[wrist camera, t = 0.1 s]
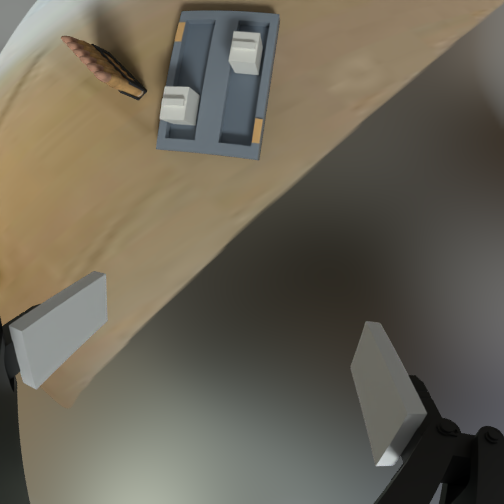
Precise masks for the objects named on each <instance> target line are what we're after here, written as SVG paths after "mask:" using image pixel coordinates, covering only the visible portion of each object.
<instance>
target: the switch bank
mask: <svg viewBox="0 0 504 504" xmlns="http://www.w3.org/2000/svg"><path fill="white" fill-rule="evenodd" d="M279 24H280V18H279V14H271V13H259V12H244V11H182V13H181V17H180V21H179V24H178V28H177V32H176V37H175V42H174V47H173V51H172V56H171V61H170V66H169V71H168V76H167V82H166V86H170V87H190V88H191V89H192V90H194V91H195V92H196V93H197V94H199V95H200V101H199V107H198V114H197V120H196V126H195V125H181V124H172V123H169V122H167V121H164V120H161V119H160V124H159V131H158V138H157V146H156V149H160V150H171V151H182V152H193V153H203V154H212V155H221V156H230V157H238V158H245V159H253V160H259V159H260V152H261V145H262V138H263V131H264V124H265V118H266V111H267V104H268V97H269V91H270V84H271V77H272V71H273V64H274V57H275V51H276V44H277V37H278V31H279ZM234 31H238V32H252V33H260V35H261V40H262V45H263V51H262V57H261V64H260V70H259V75H251V74H241V73H235V72H234V70H233V68H232V66H231V65H230V63H229V55H230V49H231V44H232V39H233V33H234Z"/></svg>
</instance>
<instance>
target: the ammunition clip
mask: <svg viewBox="0 0 504 504" xmlns="http://www.w3.org/2000/svg"><path fill="white" fill-rule="evenodd" d="M61 39H62V40H63V42H65V43H66V44H67V46H68V47H69V48H70V49H71V50H73V52H74V53H75V55H76V56H78V57H79V58H80V60H81V61H82V62H83V63H84V64H86V65H87V68H88V69H89V70H90V71H92V72H93V73H94V75H95V76H96V77H97V78H98V79H99V80H101V81H103V82H104V83H106V84H108V85H109V86H110V87H113V88H115V89H118V90H119V92H120V93H122V94H125V95H127V96H129V97H132V98H134V99H136V100H139V99H140V98H141V97H142V96H143V95H144V94H145V93H146V92H147V90H146V89H145V88H144V87H143V86H142V85H141V84H140V83H139V82H138V81H137V80H136V79H135V78H134V77H133V76H132V75H131V74H130V73H129V72H128V71H127V70H126V69H125V68H124V67H123V66H122V65H121V64H120V63H119V62H118V61H117V60H116V59H115V58H114V57H113V56H112V55H111V54H110V53H109V52H107V51H105V50H104V49H102V48H100V47H98V46H96V45H94V44H89V43H87V42H85V41H82V40H78V39H75V38H73V37H70V36H62V37H61Z"/></svg>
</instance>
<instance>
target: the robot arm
mask: <svg viewBox="0 0 504 504" xmlns="http://www.w3.org/2000/svg"><path fill="white" fill-rule="evenodd" d="M107 321H108V319H107V296H106V274H104V273H100V272H96V271H93V272H92V273H90V274H88V275H87V276H85V277H83V278H82V279H80V280H78V281H77V282H75V283H74V284H72V285H70V286H69V287H67V288H66V289H64V290H62V291H61V292H59V293H58V294H56V295H54V296H53V297H51V298H50V299H48V300H47V301H45V302H43V303H42V304H39V305H35V306H32V307H31V308H29V309H28V310H26V311H25V312H23V313H21V314H20V315H19V316H17V317H15V318H14V319H12V320H11V321H9V322H8V323H6V324H5V325H3V326H2V323H1V318H0V504H30V501H29V497H28V492H27V486H26V481H25V475H24V469H23V462H22V454H21V446H20V436H19V423H18V404H17V381H16V377H15V375H16V374H18V373H19V372H20V373H21V376H22V379H23V382H24V383H25V384H27V385H29V386H31V387H33V388H35V389H37V388H38V387H39V386H40V385H41V384H42V383H43V382H44V381H45V380H46V379H47V378H48V377H49V376H50V375H51V374H52V373H53V372H54V371H55V370H56V369H57V368H58V367H59V366H61V365H62V364H63V363H64V362H65V361H66V360H67V359H68V358H69V357H70V356H71V355H72V354H73V353H74V352H75V351H76V350H77V349H78V348H79V347H80V346H81V345H82V344H83V343H84V342H85V341H87V340H88V339H89V338H90V337H91V336H92V335H93V334H94V333H95V332H96V331H97V330H98V329H99V328H100V327H101V326H102V325H104V324H105V323H106V322H107ZM350 368H351V372H352V375H353V379H354V382H355V386H356V389H357V393H358V397H359V401H360V405H361V409H362V412H363V416H364V420H365V424H366V428H367V432H368V436H369V440H370V444H371V449H372V453H373V457H374V461H375V465H376V466H392V465H394V464H395V463H396V461H397V460H398V459H399V457H400V456H401V457H402V460H403V465H402V466H401V467H400V469H399V470H398V471H397V473H396V474H395V475H394V477H393V478H392V479H391V481H390V483H389V484H388V485H387V487H386V488H385V490H384V491H383V492H382V493H381V495H380V496H379V497H378V499H377V500H376V501H375V503H374V504H429V503H430V501H431V500H432V498H433V496H434V494H435V492H436V490H437V488H438V486H439V484H440V483H443V484H442V490H441V496H440V501H439V504H504V436H503V434H502V433H501V432H500V431H499V430H498V429H496V428H494V427H491V426H484V427H482V428H480V430H479V431H478V432H477V434H476V435H470V434H464V433H461V431H460V429H459V427H458V426H457V425H456V424H455V423H454V422H452V421H451V420H448V419H445V418H442V417H441V415H440V413H439V411H438V409H437V407H436V405H435V403H434V401H433V400H432V399H431V396H430V394H429V392H427V391H428V390H427V389H426V387H425V385H424V383H423V382H422V381H421V380H419V378H418V377H416V376H415V375H414V376H413V375H408V374H407V372H406V370H405V368H404V366H403V364H402V362H401V360H400V358H399V357H398V355H397V353H396V351H395V349H394V347H393V345H392V344H391V342H390V340H389V338H388V336H387V334H386V333H385V331H384V329H383V327H382V325H381V324H380V323H376V322H369V321H366V323H365V326H364V329H363V332H362V336H361V338H360V341H359V345H358V347H357V350H356V353H355V356H354V359H353V362H352V364H351V367H350Z"/></svg>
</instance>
